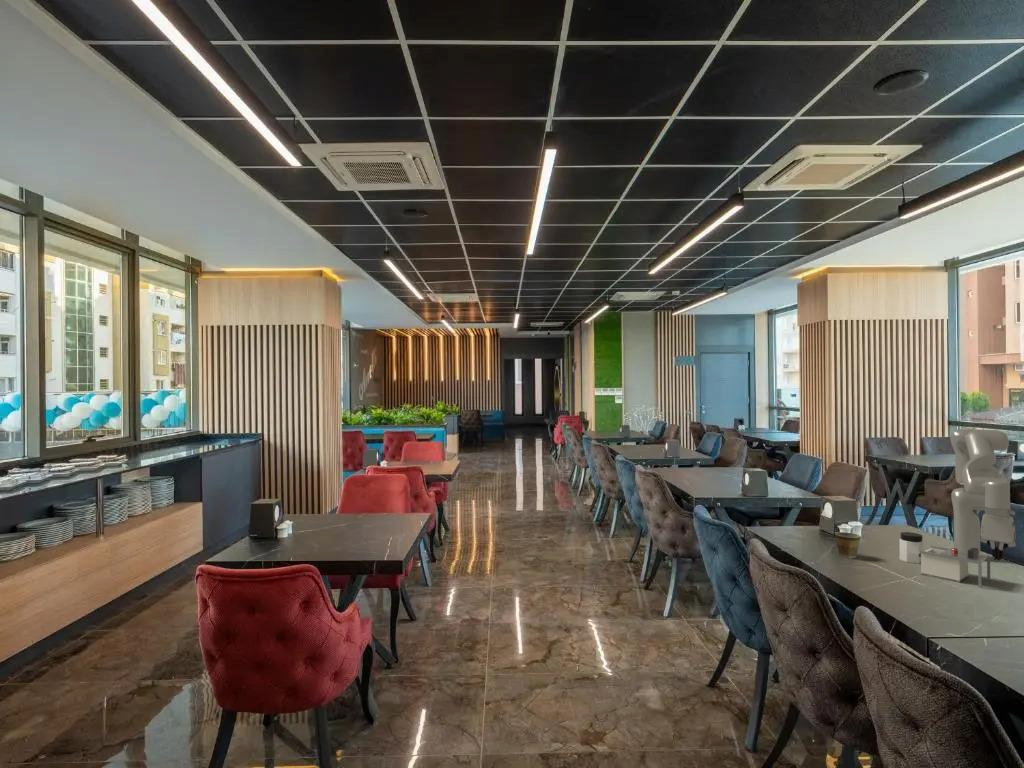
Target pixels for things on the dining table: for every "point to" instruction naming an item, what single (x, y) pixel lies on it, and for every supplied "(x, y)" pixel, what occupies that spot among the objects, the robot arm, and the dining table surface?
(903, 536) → the jar
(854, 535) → the ceramic cup
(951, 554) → the lid
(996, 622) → the dining table surface
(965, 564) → the white box with rails
